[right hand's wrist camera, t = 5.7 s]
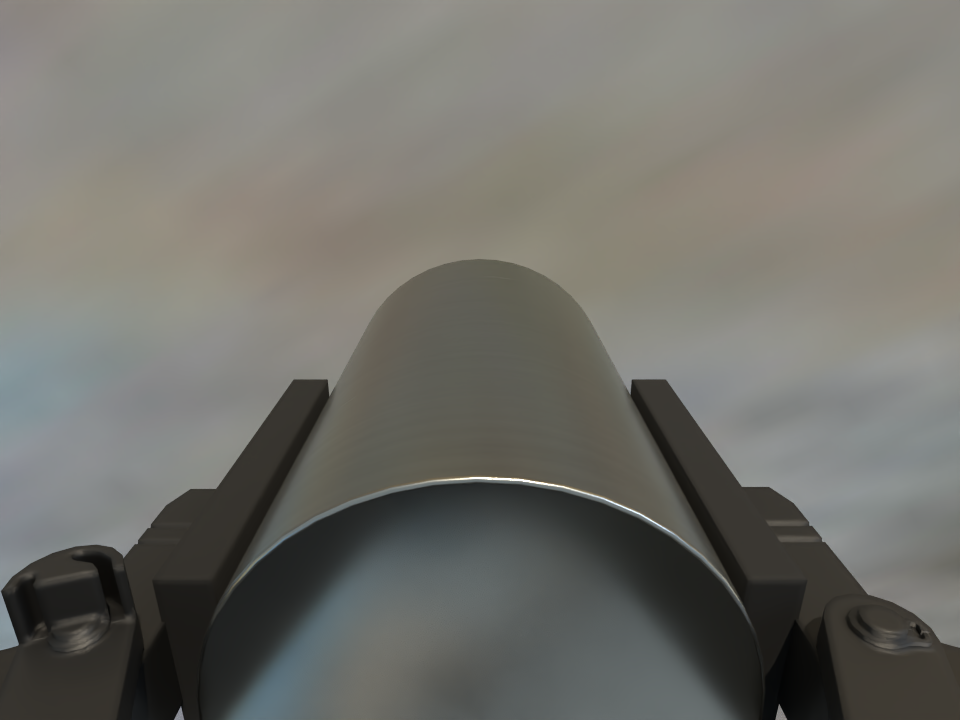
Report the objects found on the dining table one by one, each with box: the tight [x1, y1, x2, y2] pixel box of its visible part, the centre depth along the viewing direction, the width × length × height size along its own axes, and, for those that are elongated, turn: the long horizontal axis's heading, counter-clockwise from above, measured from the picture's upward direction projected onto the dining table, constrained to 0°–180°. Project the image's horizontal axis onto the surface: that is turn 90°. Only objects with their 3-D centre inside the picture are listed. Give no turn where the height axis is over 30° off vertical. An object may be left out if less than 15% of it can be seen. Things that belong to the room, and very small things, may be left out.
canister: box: [196, 259, 765, 720], centre depth 12 cm, size 7×7×10 cm
